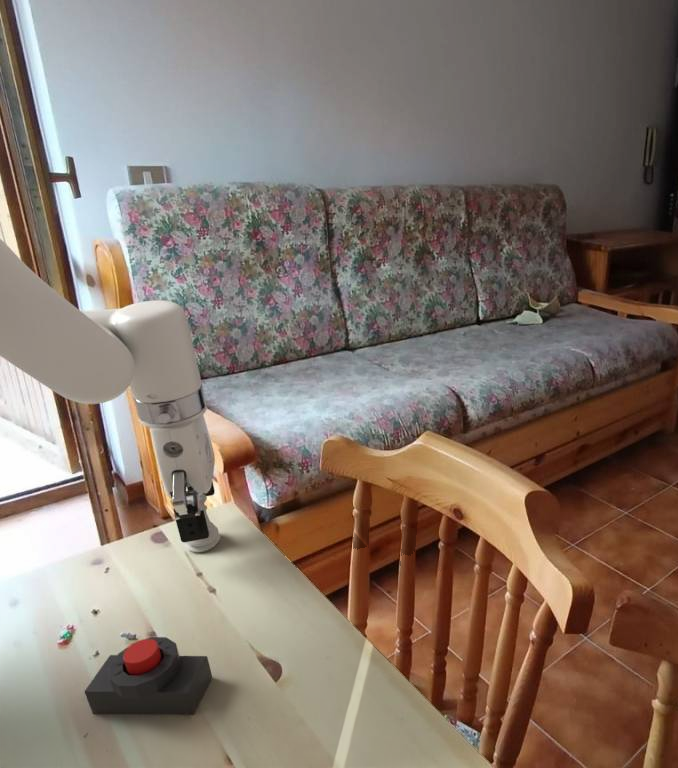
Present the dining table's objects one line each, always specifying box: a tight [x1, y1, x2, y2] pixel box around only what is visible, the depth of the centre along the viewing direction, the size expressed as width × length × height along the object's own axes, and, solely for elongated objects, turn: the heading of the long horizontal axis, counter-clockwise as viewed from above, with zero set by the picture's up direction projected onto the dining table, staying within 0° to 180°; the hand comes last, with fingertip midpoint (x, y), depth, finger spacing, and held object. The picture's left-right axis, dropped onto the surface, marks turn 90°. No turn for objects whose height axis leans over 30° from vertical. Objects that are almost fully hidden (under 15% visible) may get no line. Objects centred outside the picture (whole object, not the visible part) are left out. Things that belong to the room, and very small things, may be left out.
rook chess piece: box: [184, 489, 221, 554], centre depth 84 cm, size 4×4×8 cm
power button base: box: [84, 636, 213, 716], centre depth 63 cm, size 10×6×5 cm, turn 90°
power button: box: [123, 638, 161, 675], centre depth 62 cm, size 3×3×2 cm
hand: (199, 516), depth 84 cm, fingers open, 9 cm apart
